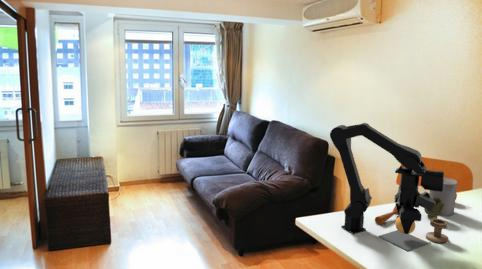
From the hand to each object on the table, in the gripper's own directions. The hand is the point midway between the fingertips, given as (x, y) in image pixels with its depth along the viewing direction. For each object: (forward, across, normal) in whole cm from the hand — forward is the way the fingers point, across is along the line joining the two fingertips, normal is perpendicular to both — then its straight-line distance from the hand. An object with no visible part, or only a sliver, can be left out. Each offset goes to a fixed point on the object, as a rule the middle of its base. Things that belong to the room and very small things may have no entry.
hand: (404, 229), depth 133 cm
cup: (+4, +23, -14) cm, 27 cm away
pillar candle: (+4, +32, -18) cm, 38 cm away
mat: (+4, 0, 0) cm, 4 cm away
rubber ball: (-2, 0, 0) cm, 2 cm away
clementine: (+4, +45, -24) cm, 51 cm away
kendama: (+4, +19, +2) cm, 20 cm away
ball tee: (+4, +4, -11) cm, 13 cm away
